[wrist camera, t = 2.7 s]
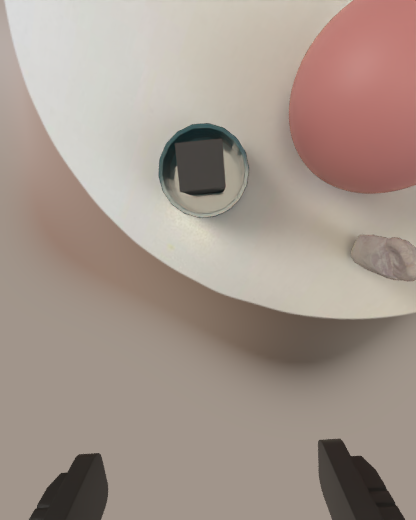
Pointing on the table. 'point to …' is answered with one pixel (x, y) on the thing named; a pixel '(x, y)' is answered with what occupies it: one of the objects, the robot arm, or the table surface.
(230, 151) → the tin
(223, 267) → the table surface
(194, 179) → the black block
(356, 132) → the balloon
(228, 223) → the table surface
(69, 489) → the robot arm
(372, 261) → the fossil
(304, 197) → the table surface
